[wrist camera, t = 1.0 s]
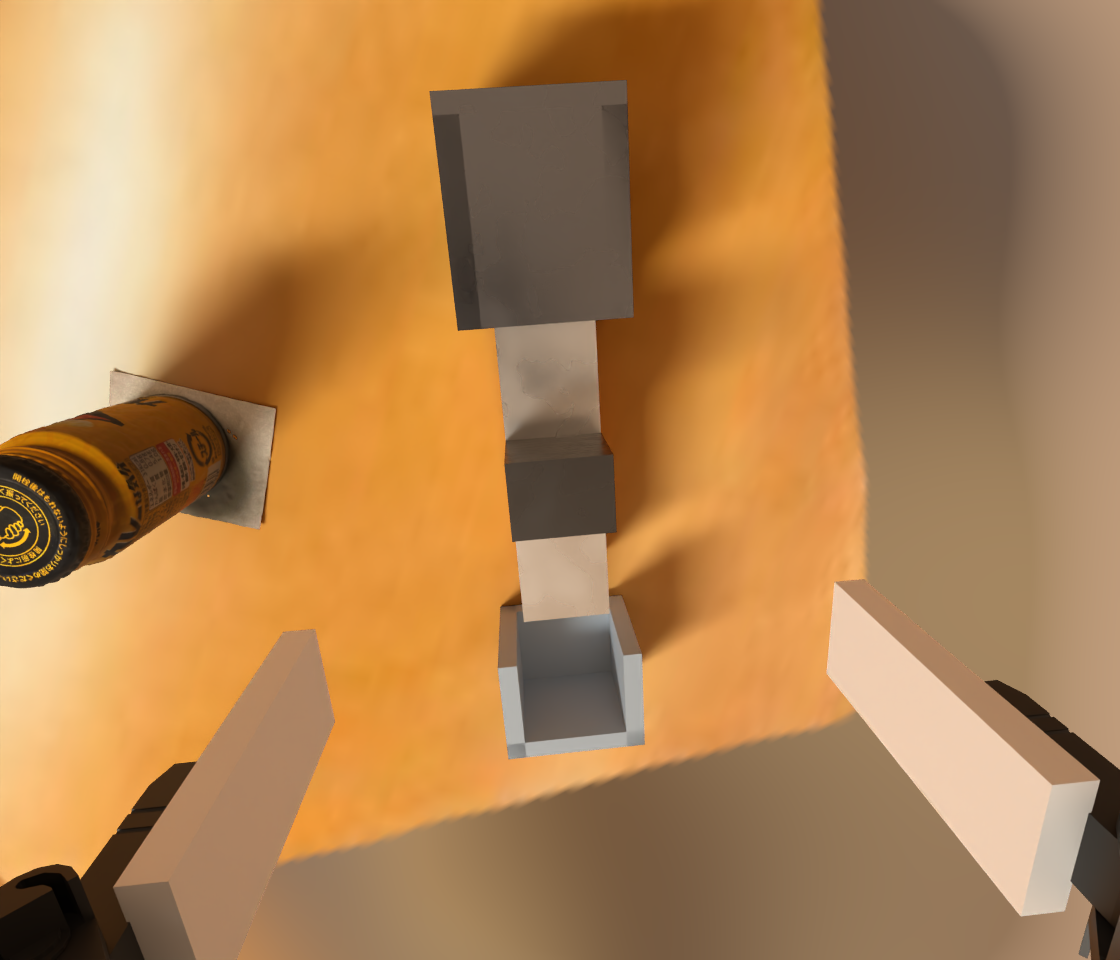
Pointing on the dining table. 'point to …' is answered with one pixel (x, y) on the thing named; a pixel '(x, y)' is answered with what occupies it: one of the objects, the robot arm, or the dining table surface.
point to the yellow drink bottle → (127, 476)
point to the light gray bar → (556, 468)
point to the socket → (570, 682)
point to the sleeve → (536, 202)
